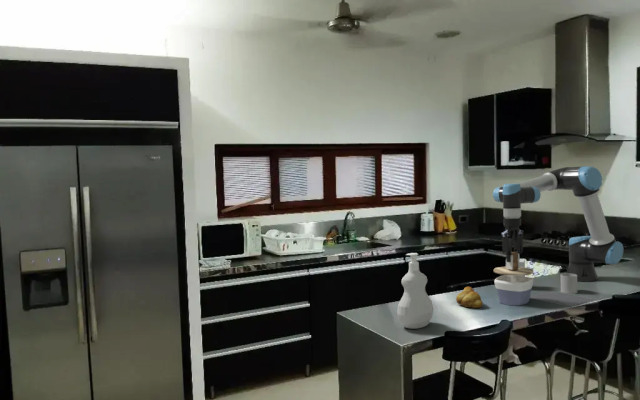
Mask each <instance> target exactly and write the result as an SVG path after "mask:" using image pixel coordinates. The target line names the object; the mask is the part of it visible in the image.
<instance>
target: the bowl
mask: <svg viewBox="0 0 640 400" xmlns="http://www.w3.org/2000/svg"><path fill="white" fill-rule="evenodd" d="M493 281H494V286H495V289H496V292H497V297H498V301H499V303H500V304H502V305H507V306H514V307H519V306H522V305H527V304H529V302H530V299H531V298H530V296H531V292H532V290H533V289H532V288H533V285H534V278H532V277H529V276H525V277H524V276H514V275H500V276H498V277H496V278H495V279H494V280H493Z"/></svg>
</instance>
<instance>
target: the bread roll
mask: <svg viewBox="0 0 640 400" xmlns="http://www.w3.org/2000/svg"><path fill="white" fill-rule="evenodd" d="M455 299H456V303H457V304H458V305H460V306H463V307H464V308H473V309H480V308H482V307H483V301H482V297H481V295H480V294H479V293H478V292H477V291H475V290H474V289H473V287H471V286H466V287H464V289H463V291H461V292H459V293H457V295H456V298H455Z"/></svg>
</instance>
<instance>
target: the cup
mask: <svg viewBox="0 0 640 400" xmlns="http://www.w3.org/2000/svg"><path fill="white" fill-rule="evenodd" d="M560 292H561V293H562V294H567V295H570V294H571V295H574V294H578V281H577V275H576V274H570V273H566V272H565V273H560Z"/></svg>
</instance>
